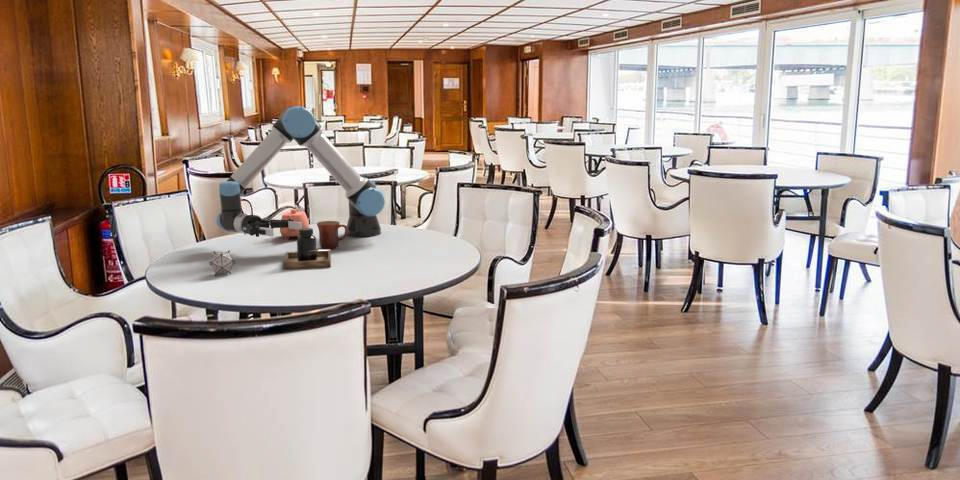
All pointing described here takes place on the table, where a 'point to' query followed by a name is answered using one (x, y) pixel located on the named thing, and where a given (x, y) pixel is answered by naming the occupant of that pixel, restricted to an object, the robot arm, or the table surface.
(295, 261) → the tray
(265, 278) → the table surface
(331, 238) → the mug
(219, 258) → the game die
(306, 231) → the supplement bottle
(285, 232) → the teapot
